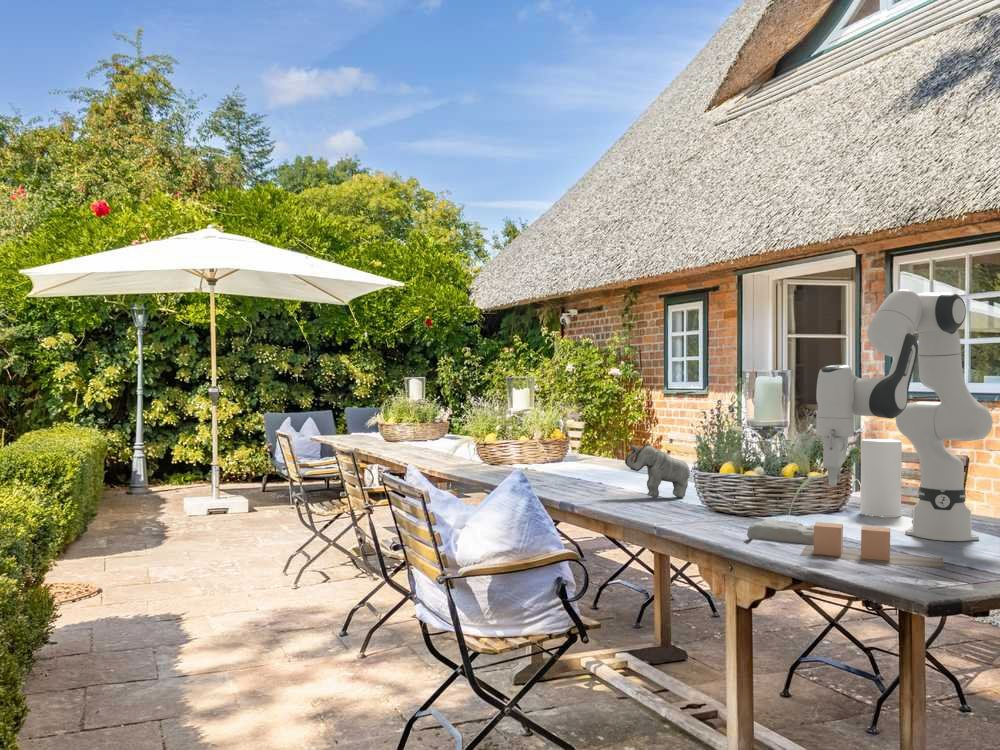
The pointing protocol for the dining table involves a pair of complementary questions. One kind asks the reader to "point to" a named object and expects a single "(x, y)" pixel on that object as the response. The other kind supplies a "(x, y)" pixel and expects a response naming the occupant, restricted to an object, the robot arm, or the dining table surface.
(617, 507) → the dining table surface
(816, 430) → the robot arm
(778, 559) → the dining table surface
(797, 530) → the stone
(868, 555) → the wooden block
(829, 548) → the peach block
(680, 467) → the grey animal figurine
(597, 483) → the dining table surface
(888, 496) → the cylinder
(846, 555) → the board
